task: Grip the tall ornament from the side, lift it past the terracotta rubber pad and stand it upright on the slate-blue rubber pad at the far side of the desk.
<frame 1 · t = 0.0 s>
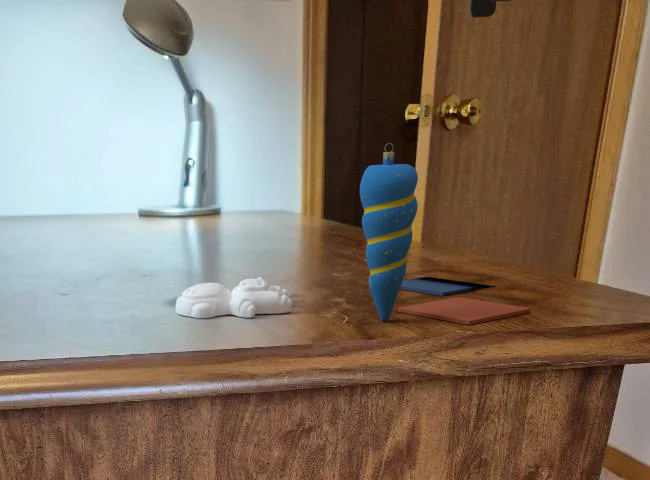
hand: (491, 9, 68), 25 cm above the table, tool pointing down, fingers open, 8 cm apart
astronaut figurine: (236, 312, 81), on the table
terracotta pad: (463, 312, 77), on the table
blue pad: (439, 286, 91), on the table
ornament: (382, 323, 74), on the table
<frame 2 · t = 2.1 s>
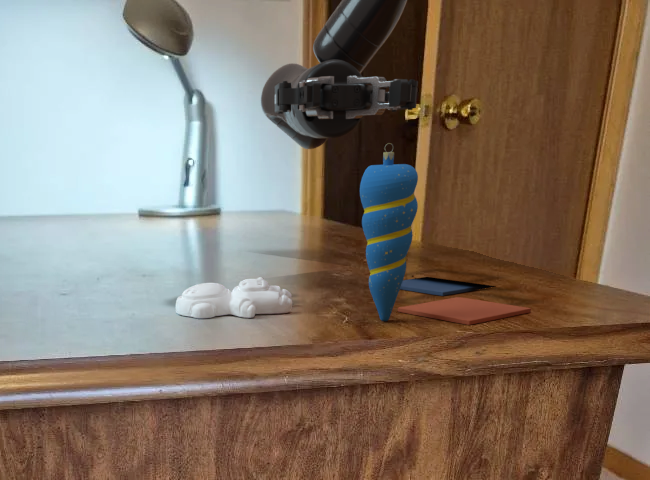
hand: (360, 92, 75), 19 cm above the table, tool horizontal, fingers open, 8 cm apart
nothing on the table moved.
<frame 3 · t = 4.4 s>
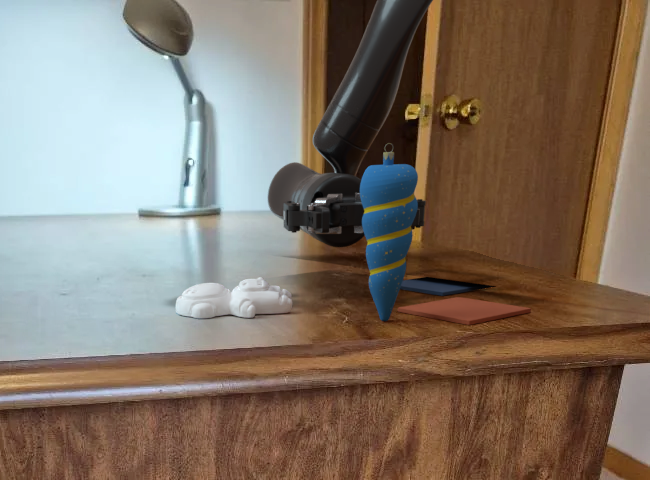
hand: (369, 219, 76), 8 cm above the table, tool horizontal, fingers open, 8 cm apart
nothing on the table moved.
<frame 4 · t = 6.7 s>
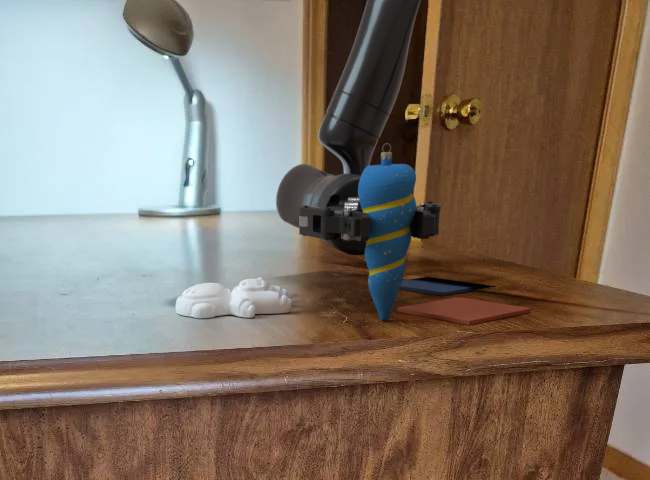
hand: (396, 226, 68), 9 cm above the table, tool horizontal, fingers closed on ornament, 5 cm apart
ornament: (382, 323, 74), on the table, touching gripper
everything else where it was.
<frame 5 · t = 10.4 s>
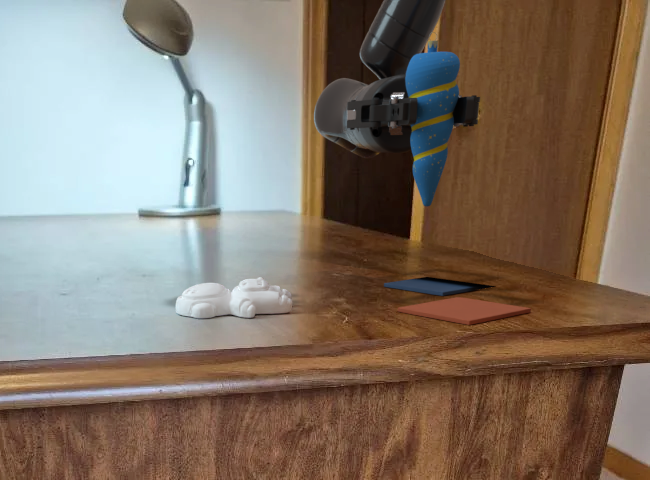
hand: (441, 110, 74), 18 cm above the table, tool horizontal, fingers closed on ornament, 5 cm apart
ornament: (425, 208, 80), point 9 cm above the table, touching gripper
everything else where it was.
when the fingers open (9 cm above the table, at t = 14.4 s): ornament stays where it is, resting on blue pad.
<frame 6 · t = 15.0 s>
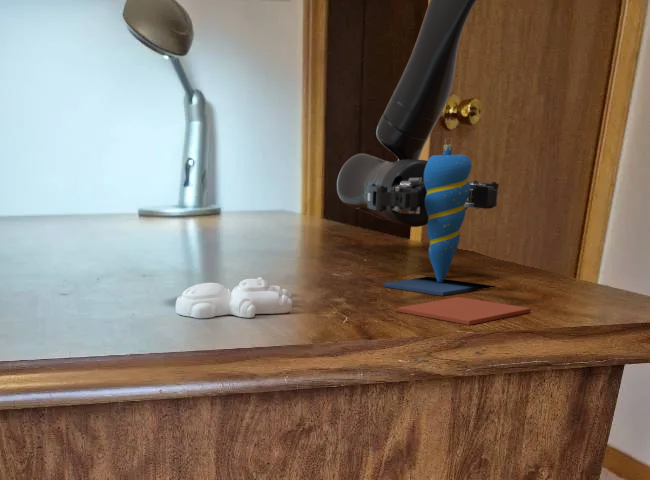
hand: (453, 199, 85), 9 cm above the table, tool horizontal, fingers open, 8 cm apart
ornament: (438, 284, 91), resting on blue pad
everything else where it was.
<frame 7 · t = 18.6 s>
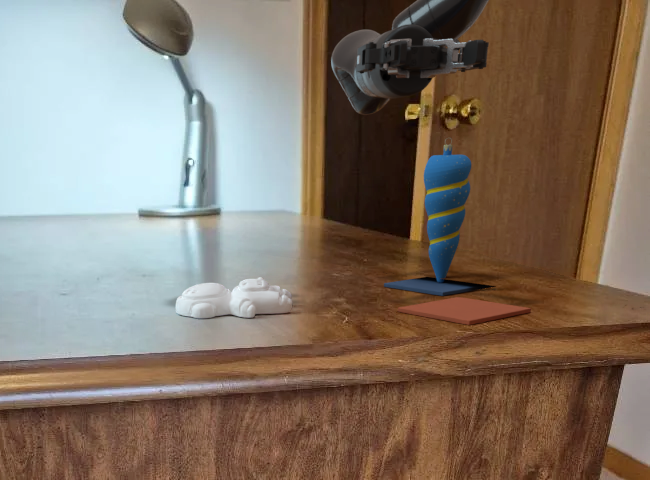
hand: (442, 51, 85), 24 cm above the table, tool horizontal, fingers open, 8 cm apart
nothing on the table moved.
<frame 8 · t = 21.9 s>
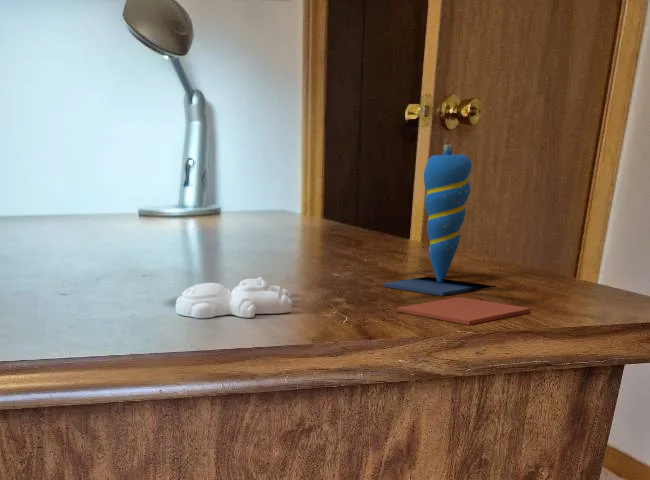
nothing on the table moved.
at the end: ornament 0.2 cm off-centre on the blue pad, point 0.2 cm above the blue pad's base; ornament tilted 0°; ornament touching blue pad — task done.
